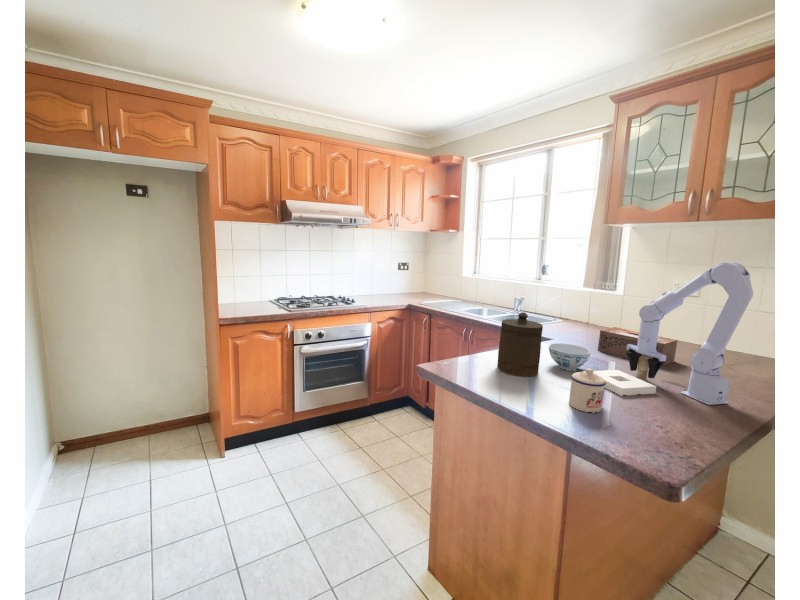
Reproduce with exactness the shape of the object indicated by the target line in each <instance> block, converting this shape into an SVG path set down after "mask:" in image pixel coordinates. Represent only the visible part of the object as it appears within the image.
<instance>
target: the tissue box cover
mask: <svg viewBox="0 0 800 600" xmlns="http://www.w3.org/2000/svg"><path fill="white" fill-rule="evenodd" d="M638 336H639V331H636V330H631V329H625V328H622V327H615V326H614V327H610V328H603V329H600V330H599V337H598V345H597V351H598V352H602V353H606V354H610V355H613V356H617V357H622V358H624V359H625V358H626V359H628V357H627V354H626V351H629V350H627V344H632V345H636V346H637V343H638ZM678 340H679V339H675V338H671V337H666V336H660V335H658V338H657V344H656V350H657V352H659V353H661V354H663V355H665V356H666V361H665V363H664V364H663V365H662V367H664V366H666V364H667V365H669V364H672V363H674V362H675V359H676V353H677V352H676V351H677V346H678ZM640 357H645V358H649V359H653V358H652V357H649V356H646V355H643V354H641V356H640ZM673 361H674V362H673ZM671 362H672V363H671ZM668 363H669V364H668Z"/></svg>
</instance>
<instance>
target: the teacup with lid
mask: <svg viewBox="0 0 800 600" xmlns="http://www.w3.org/2000/svg"><path fill="white" fill-rule="evenodd" d="M593 371H594V369H592V368H589V367H588V368H585V370H583V371H577V372H574V373H573V374H571V376H570V377H571V383H570V390H569V397H568V404H569V406H570V405H571V406H572V407H571V406H570V407H571V408H573V407H574V408H573V409H575V408H576V409H575V410H577V409H578V410H577V411H579V410H581V411H580V412H582V411H585V412H584V413H587V412H592V413H591V414H596V413H595V412H597V413H600V412H601V411H602V406H603V398H604V393H605V392H604V391H605V388H604V386H605V384H606V382H605V380H604V379H603V378H602V377H600V376H598V375H597V374H595V373H593Z"/></svg>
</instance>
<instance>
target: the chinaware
mask: <svg viewBox="0 0 800 600" xmlns="http://www.w3.org/2000/svg"><path fill="white" fill-rule="evenodd" d="M548 350H549V355H550V357H551V359H552V360H553V361H554V362H555V363H556V365H557V367H558V368H559V367H560V368H559V369H561V368H562V369H561V370H564V369H566V371H571V370H573V371H576V370H577V369H578V368H580V367H581V366H583V365H585V364H586V362H588V360H589V358H590V357H591V354H592V352H591V350H590V349H588V348H586V347H582V346H580V345H575V344H570V343H558V342H557V343H556V342H555V343H551V344H549V345H548Z"/></svg>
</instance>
